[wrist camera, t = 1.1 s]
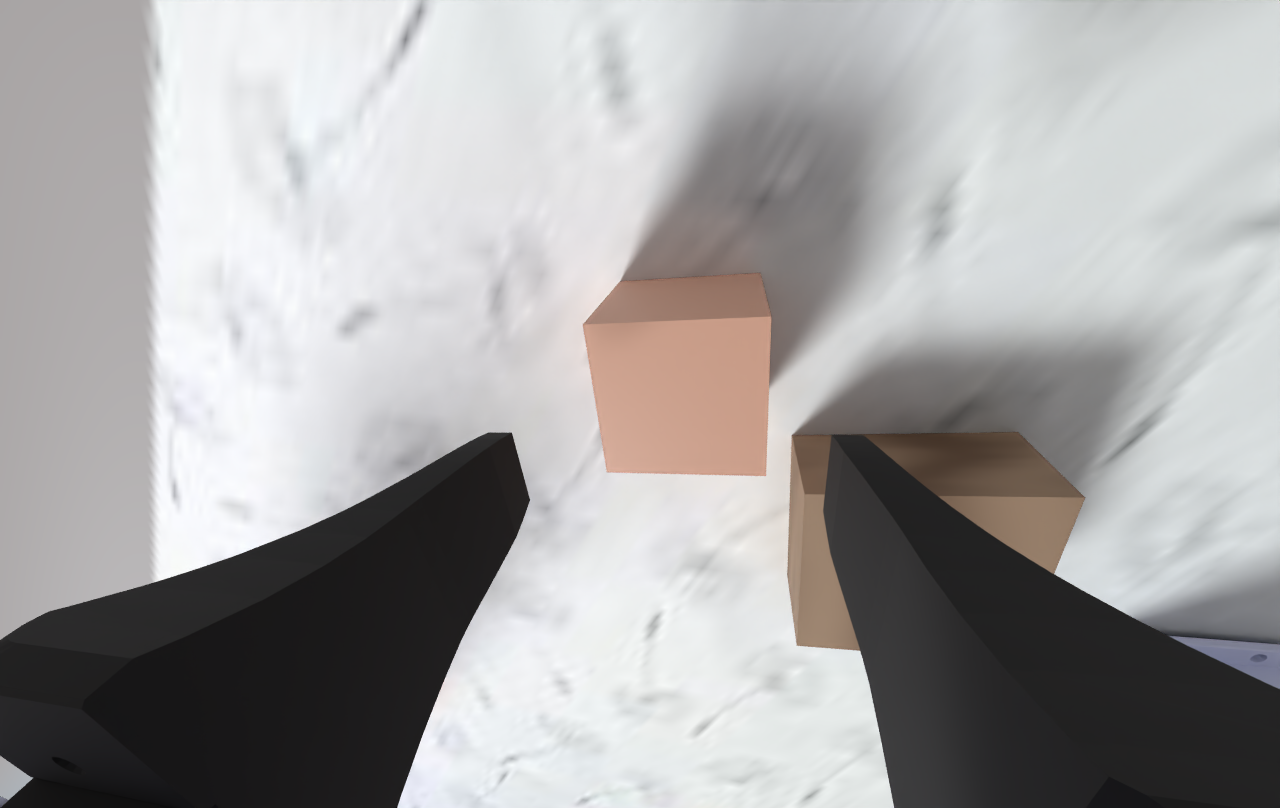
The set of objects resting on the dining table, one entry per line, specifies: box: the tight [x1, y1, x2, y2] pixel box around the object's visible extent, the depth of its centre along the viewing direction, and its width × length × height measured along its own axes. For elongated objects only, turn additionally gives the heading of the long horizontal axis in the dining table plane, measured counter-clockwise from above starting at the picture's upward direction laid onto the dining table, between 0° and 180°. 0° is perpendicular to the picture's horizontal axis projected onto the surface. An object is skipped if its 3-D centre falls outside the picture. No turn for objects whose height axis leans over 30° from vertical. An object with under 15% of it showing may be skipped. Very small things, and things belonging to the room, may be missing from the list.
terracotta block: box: [583, 273, 771, 476], centre depth 15 cm, size 5×5×5 cm
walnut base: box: [787, 432, 1085, 651], centre depth 18 cm, size 8×8×4 cm
